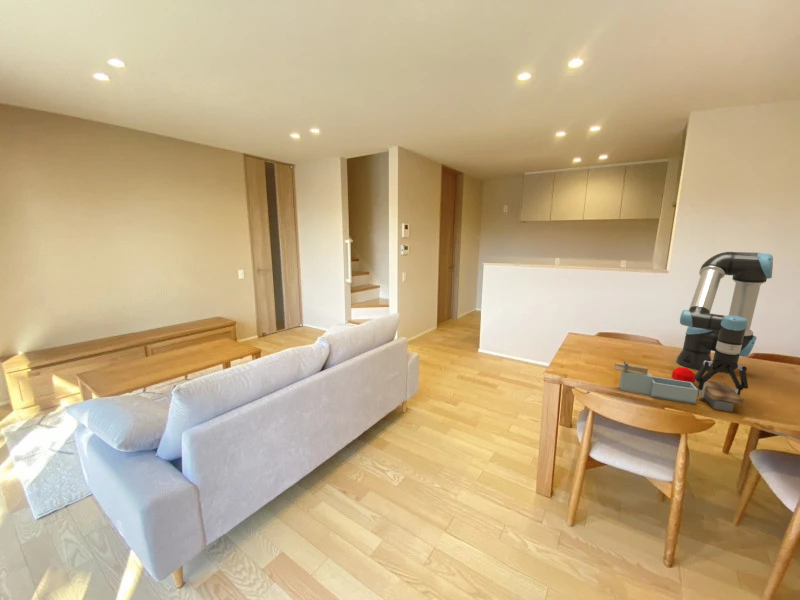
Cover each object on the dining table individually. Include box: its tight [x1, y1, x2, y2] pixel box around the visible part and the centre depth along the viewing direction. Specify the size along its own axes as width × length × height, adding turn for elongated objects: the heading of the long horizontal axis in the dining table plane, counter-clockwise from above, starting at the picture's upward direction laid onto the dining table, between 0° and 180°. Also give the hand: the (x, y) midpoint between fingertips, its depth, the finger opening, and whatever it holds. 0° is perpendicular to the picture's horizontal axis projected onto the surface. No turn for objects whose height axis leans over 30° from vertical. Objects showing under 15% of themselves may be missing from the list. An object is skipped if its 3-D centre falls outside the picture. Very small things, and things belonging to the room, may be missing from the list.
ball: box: [671, 366, 696, 385], centre depth 163 cm, size 8×8×8 cm
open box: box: [649, 376, 699, 405], centre depth 150 cm, size 8×16×7 cm, turn 66°
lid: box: [695, 380, 744, 405], centre depth 144 cm, size 10×16×2 cm, turn 156°
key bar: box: [614, 362, 649, 375], centre depth 155 cm, size 2×12×3 cm, turn 66°
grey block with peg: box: [618, 360, 654, 396], centre depth 155 cm, size 4×12×13 cm, turn 66°
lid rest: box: [703, 393, 735, 413], centre depth 145 cm, size 14×6×4 cm, turn 156°
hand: (716, 398), depth 145 cm, fingers closed on lid, 10 cm apart
